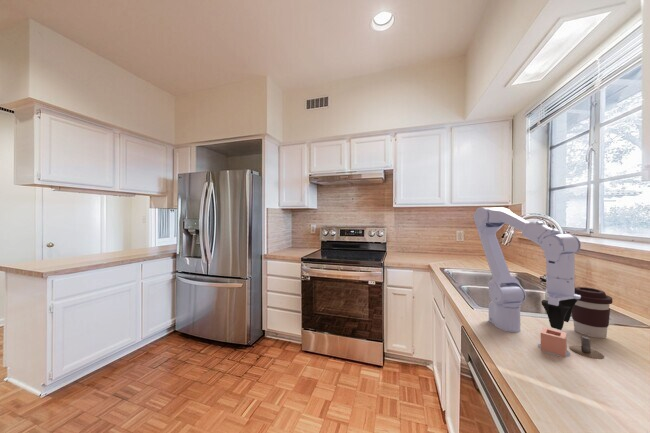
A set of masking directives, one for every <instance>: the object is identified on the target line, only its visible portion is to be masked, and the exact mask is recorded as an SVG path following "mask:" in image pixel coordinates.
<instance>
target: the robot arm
mask: <svg viewBox="0 0 650 433" xmlns="http://www.w3.org/2000/svg"><path fill="white" fill-rule="evenodd" d="M473 220H474V224H475V227H476V230H477V234H478V237H479V240H480V244H481V246H482V249H483V253H484V256H485V259H486V262H487V264H488V267H489V270H490V273H491V277H492V278H491V279H490V280H489V281H488V283H487V286H488V297H489V298H490V299H491V301H490V302H489V303H488V322H490V323H491V324H492V325H494V326H495V327H496V328H498V329H499V330H502V331H503V332H504V331H505V332H510V333H518V332H521V307H522V306H523V303H524V302H525V301H526V300H527V292H526V291H525V288H524V287H522V285H521V283H520V281H519V279H518V278H516V277H514V276H512V275H511V272H510V270H509V267H508V264H507V262H506V259H505V255H504V254H503V251H502V247H501V245H500V242H499V240H498V237H497V235H496V234H497V232H498V231H499V230H500V229H501V228H502V227H503V226H504V225H505V224H506V225H508V226H511V227H512V228H514V229H517V230H518V231H521V234H522V236H523V237H524V238H526V239H528V240H529V241H531V242H533V243H535V244H537V245H538V246H540V248H541V250H542V251H543V254H544V259H545V260H546V262H545V263H546V266H545V267H546V268H545V270H546V272H545V273H546V274H545V276H546V279H545V281H546V286H545V287H546V289H544V290H545V292H544V293H545V294H546V296H547V299H546V300H545V299H543V300H541V306H542V307H543V308H544V310H545V313H546V314H547V317H548V321H549V326H550V327H551V329H554V330H557V331H562V330H563V328H564V324H565V323H569V322H570V319H571V317H572V309H573V307H574V305H575V303H576V302H577V301H578V299H580V298H581V295H577V294H575V288H576V287H575V283H576V282H575V278H576V277H575V276H576V275H575V261H576V260H575V259H576V258H575V257H576V256H575V254H577V253H578V252H580V249H581V248H582V247H581V241H580V239H579V238H578V237H577V236H576V235H574V234H573V233H569V232H568V233H567V232H566V233H561V232H560V230H558V228H557V229H556V228H554V229H553V228H551V227H549V226H548V225H545V223H544V222H543V221H541V220H540V221H539V220H537V221H535V220H533V221H528V220H526V219H524V218H522V217H521V216H519V215H518V214H516V213H513V211H511V209H509V208H506V207H505V206H498V207H497V206H495V207H489V206H488V207H486V206H485V207H484V206H480V207H477V208H476V210H475V212H474V214H473Z"/></svg>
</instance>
